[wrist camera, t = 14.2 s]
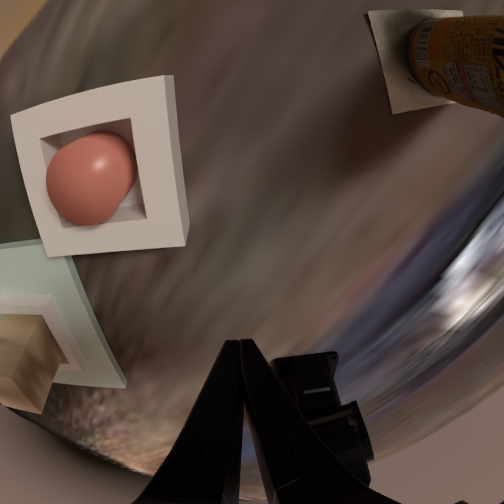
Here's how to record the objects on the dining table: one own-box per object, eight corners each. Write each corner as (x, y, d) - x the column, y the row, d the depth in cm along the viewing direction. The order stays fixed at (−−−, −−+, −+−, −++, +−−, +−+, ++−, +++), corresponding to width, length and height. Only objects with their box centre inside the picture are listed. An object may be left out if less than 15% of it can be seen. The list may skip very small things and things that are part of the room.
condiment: (477, 99, 17) (600, 148, 7) (391, 114, 18) (524, 174, 8) (460, 11, 14) (589, 15, 4) (365, 11, 15) (500, -19, 4)
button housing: (189, 223, 22) (185, 246, 19) (64, 235, 21) (48, 257, 19) (173, 75, 16) (164, 75, 14) (34, 107, 16) (10, 115, 13)
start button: (143, 197, 19) (129, 221, 16) (79, 205, 19) (58, 229, 16) (132, 124, 17) (113, 135, 14) (64, 137, 16) (37, 152, 14)
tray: (127, 381, 31) (123, 399, 28) (30, 373, 30) (24, 388, 28) (64, 235, 21) (51, 253, 19) (-40, 249, 20) (-53, 263, 18)
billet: (66, 347, 26) (41, 414, 19) (29, 344, 26) (3, 405, 19) (45, 309, 23) (10, 378, 17) (8, 308, 23) (-27, 370, 16)
